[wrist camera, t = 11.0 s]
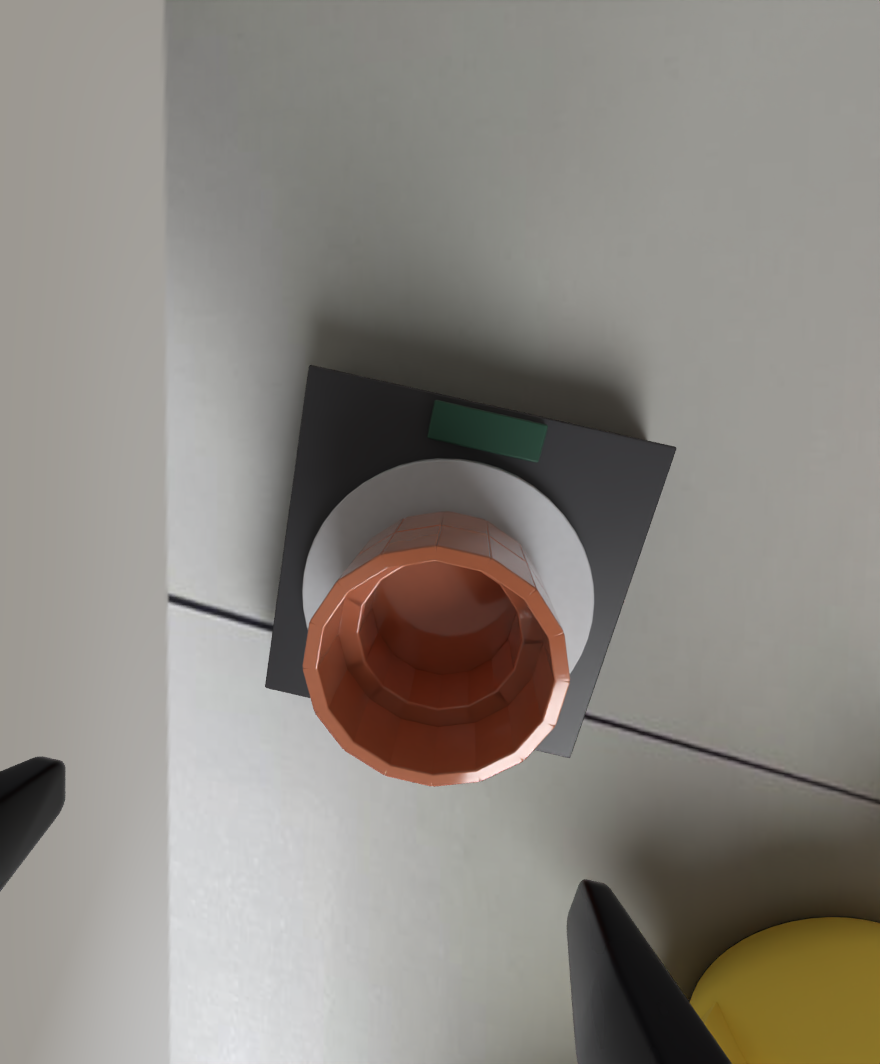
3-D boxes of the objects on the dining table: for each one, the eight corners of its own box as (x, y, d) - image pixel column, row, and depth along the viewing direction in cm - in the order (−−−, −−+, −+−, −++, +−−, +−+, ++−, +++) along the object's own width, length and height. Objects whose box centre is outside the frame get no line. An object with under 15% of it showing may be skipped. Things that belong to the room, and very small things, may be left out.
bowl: (335, 666, 17) (288, 754, 13) (366, 488, 15) (324, 519, 11) (514, 707, 17) (529, 809, 13) (565, 533, 15) (603, 583, 11)
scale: (288, 655, 20) (257, 697, 18) (331, 371, 17) (301, 362, 14) (558, 717, 20) (573, 770, 17) (649, 442, 17) (686, 448, 14)
